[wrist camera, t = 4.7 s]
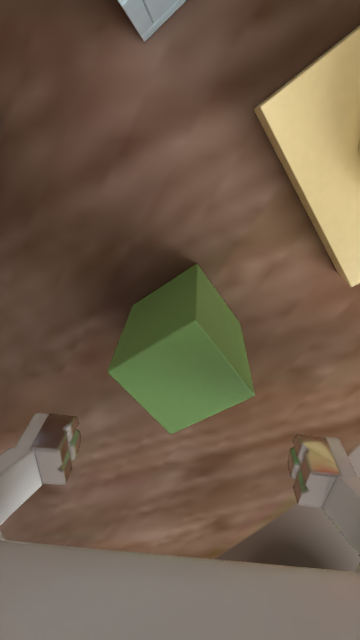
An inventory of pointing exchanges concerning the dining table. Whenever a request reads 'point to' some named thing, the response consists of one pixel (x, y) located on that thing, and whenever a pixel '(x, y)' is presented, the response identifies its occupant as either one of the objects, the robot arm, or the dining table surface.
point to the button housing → (323, 147)
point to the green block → (183, 353)
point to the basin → (149, 14)
